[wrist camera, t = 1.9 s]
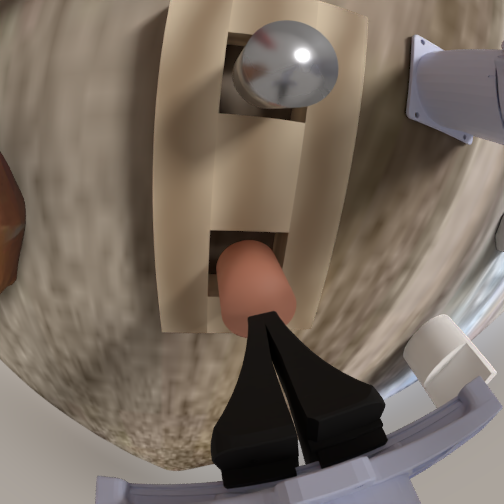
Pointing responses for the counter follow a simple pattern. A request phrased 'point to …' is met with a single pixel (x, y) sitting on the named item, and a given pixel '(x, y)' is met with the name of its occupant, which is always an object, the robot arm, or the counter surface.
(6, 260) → the butternut squash
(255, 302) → the pink rounded block
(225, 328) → the socket block
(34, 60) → the counter surface
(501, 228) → the flask
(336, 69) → the steel plunger
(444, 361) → the base with upright slab
